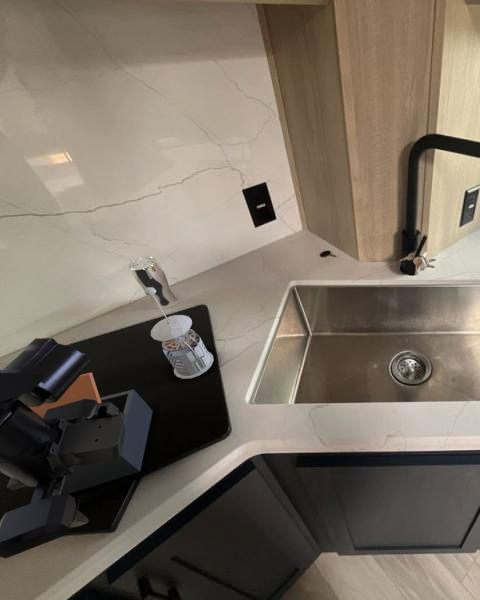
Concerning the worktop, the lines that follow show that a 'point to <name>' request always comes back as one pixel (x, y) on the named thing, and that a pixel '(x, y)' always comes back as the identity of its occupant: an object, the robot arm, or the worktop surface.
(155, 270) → the beer glass
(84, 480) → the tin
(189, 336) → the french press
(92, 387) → the orange square plate
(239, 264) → the worktop surface
